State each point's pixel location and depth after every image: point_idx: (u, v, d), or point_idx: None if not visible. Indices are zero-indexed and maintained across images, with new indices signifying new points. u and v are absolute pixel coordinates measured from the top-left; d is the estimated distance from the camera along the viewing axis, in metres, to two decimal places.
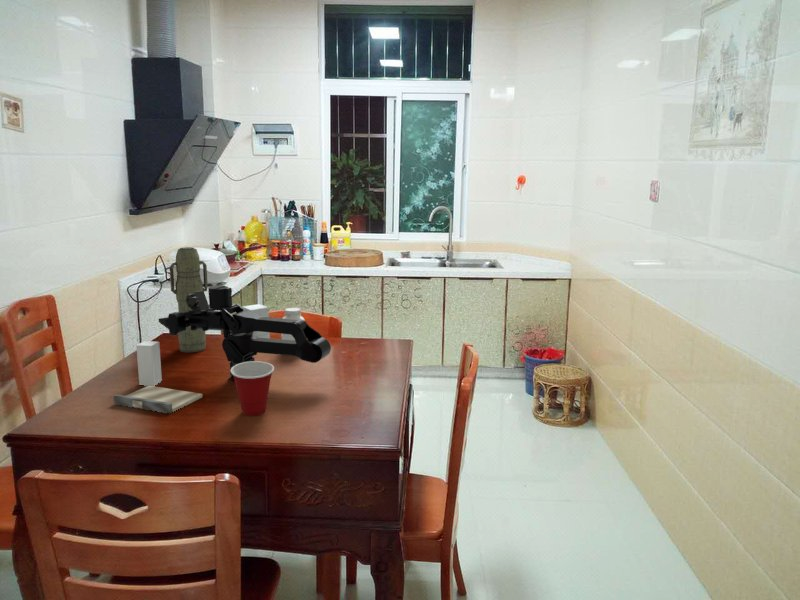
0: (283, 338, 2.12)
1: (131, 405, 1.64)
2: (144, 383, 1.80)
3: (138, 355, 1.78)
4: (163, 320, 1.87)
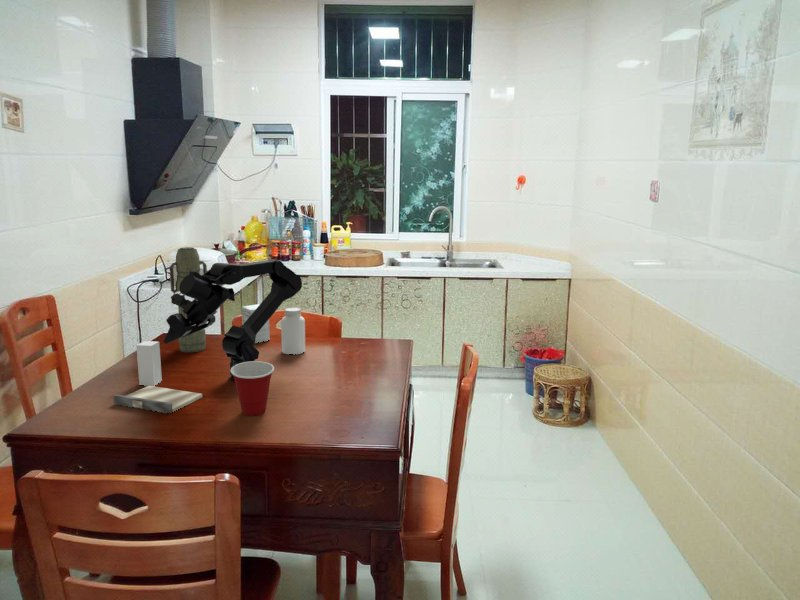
0: (283, 338, 2.12)
1: (131, 405, 1.64)
2: (144, 383, 1.80)
3: (138, 355, 1.78)
4: (167, 337, 1.74)
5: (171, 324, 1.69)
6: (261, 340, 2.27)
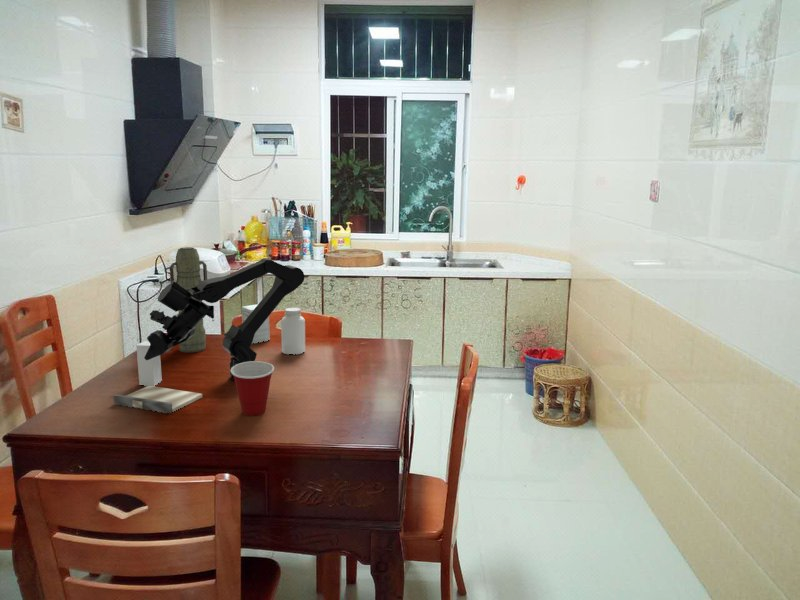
0: (283, 338, 2.12)
1: (131, 405, 1.64)
2: (144, 383, 1.80)
3: (138, 355, 1.78)
4: (148, 353, 1.74)
5: (152, 342, 1.69)
6: (261, 340, 2.27)
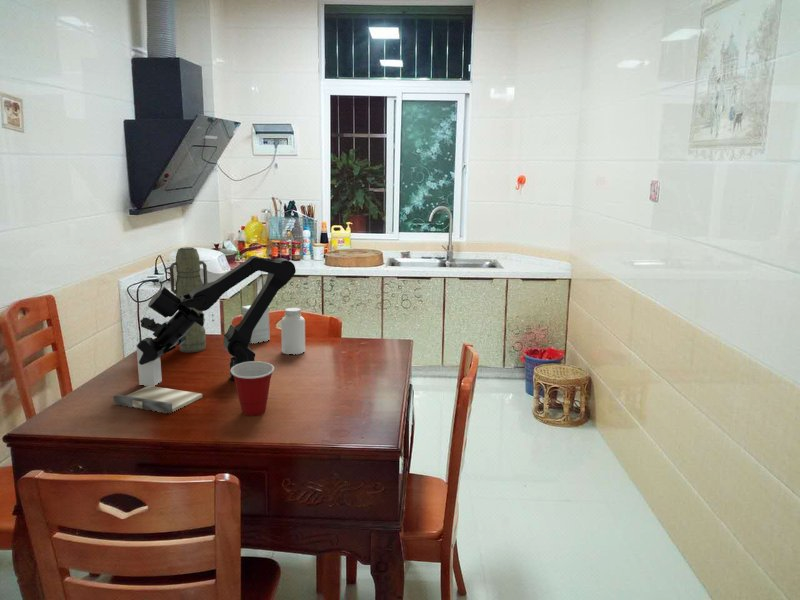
0: (283, 338, 2.12)
1: (131, 405, 1.64)
2: (144, 383, 1.80)
3: (138, 355, 1.78)
4: (143, 358, 1.77)
5: (142, 349, 1.70)
6: (261, 340, 2.27)
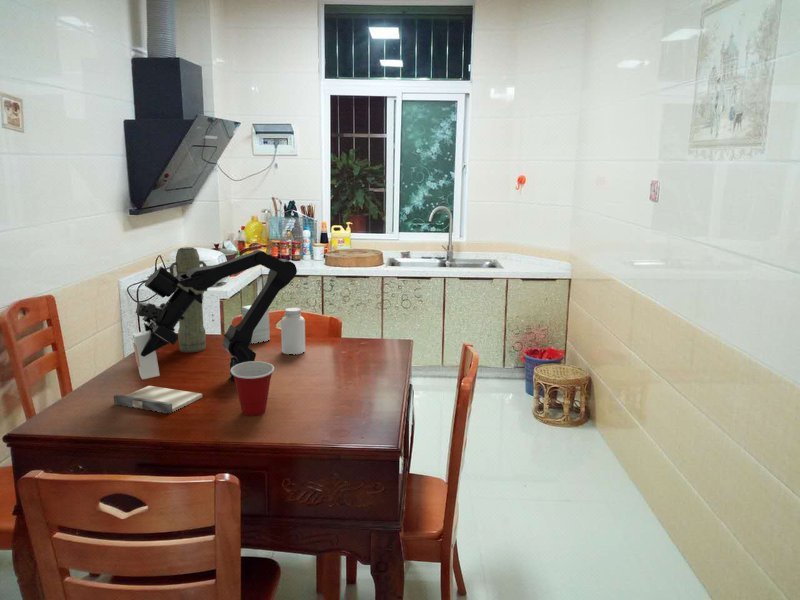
0: (283, 338, 2.12)
1: (131, 405, 1.64)
2: (148, 375, 1.71)
3: (138, 347, 1.69)
4: (147, 348, 1.69)
5: (162, 335, 1.65)
6: (261, 340, 2.27)
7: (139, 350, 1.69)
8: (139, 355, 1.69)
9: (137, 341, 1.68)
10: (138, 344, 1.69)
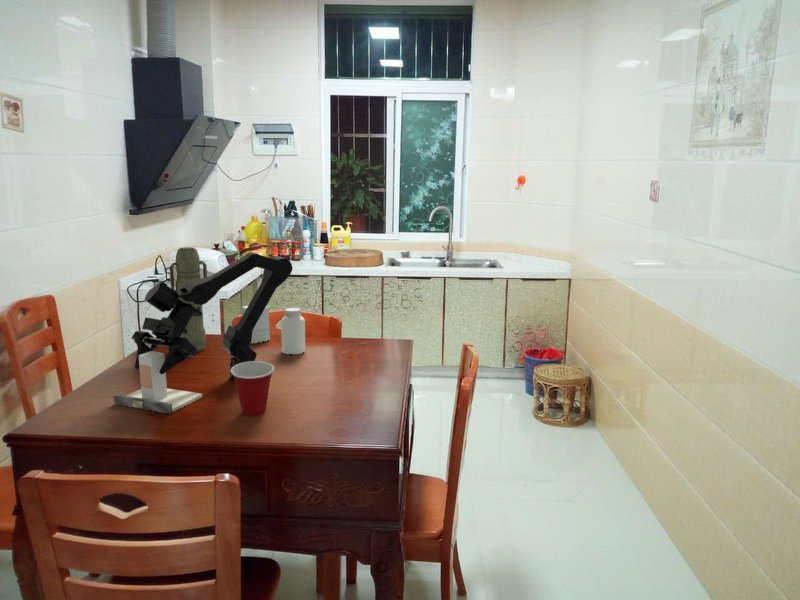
0: (283, 338, 2.12)
1: (131, 405, 1.64)
2: (158, 397, 1.67)
3: (153, 368, 1.64)
4: (167, 365, 1.64)
5: (187, 348, 1.64)
6: (261, 340, 2.27)
7: (153, 371, 1.64)
8: (153, 376, 1.64)
9: (152, 361, 1.63)
10: (153, 364, 1.64)
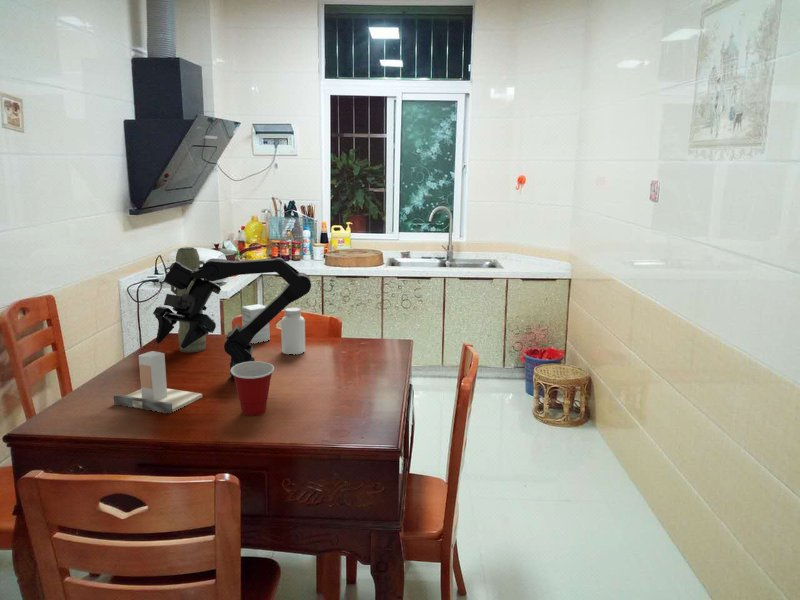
0: (283, 338, 2.12)
1: (131, 405, 1.64)
2: (158, 397, 1.67)
3: (153, 368, 1.64)
4: (188, 340, 1.71)
5: (207, 324, 1.71)
6: (261, 340, 2.27)
7: (153, 371, 1.64)
8: (153, 376, 1.64)
9: (152, 361, 1.63)
10: (153, 364, 1.64)
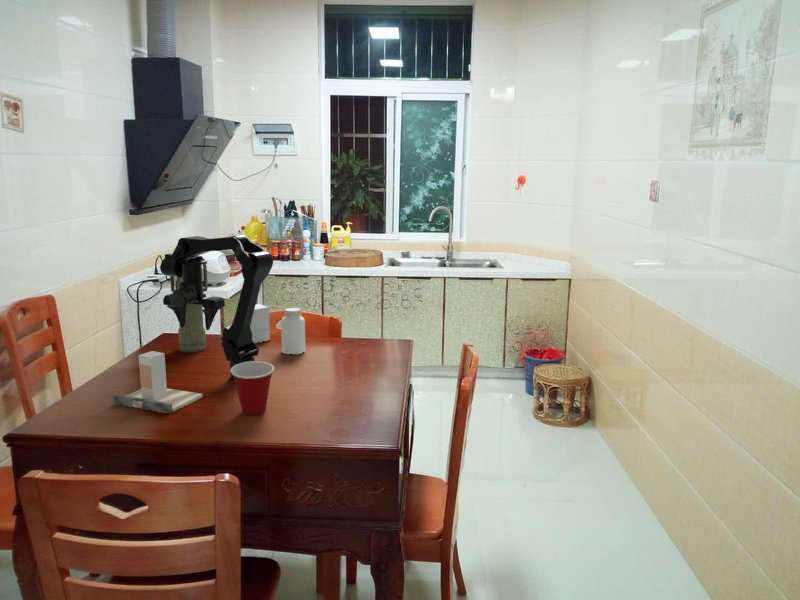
0: (283, 338, 2.12)
1: (131, 405, 1.64)
2: (158, 397, 1.67)
3: (153, 368, 1.64)
4: (209, 323, 1.91)
5: (217, 306, 1.87)
6: (261, 340, 2.27)
7: (153, 371, 1.64)
8: (153, 376, 1.64)
9: (152, 361, 1.63)
10: (153, 364, 1.64)
